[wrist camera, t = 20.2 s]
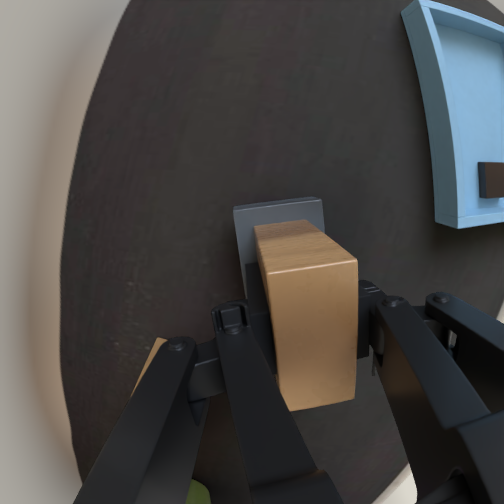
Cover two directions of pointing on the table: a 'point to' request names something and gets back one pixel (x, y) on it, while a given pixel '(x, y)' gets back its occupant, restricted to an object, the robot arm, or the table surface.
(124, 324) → the table surface
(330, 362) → the brush
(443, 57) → the pan
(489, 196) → the dark grey flat block
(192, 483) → the plant pot
